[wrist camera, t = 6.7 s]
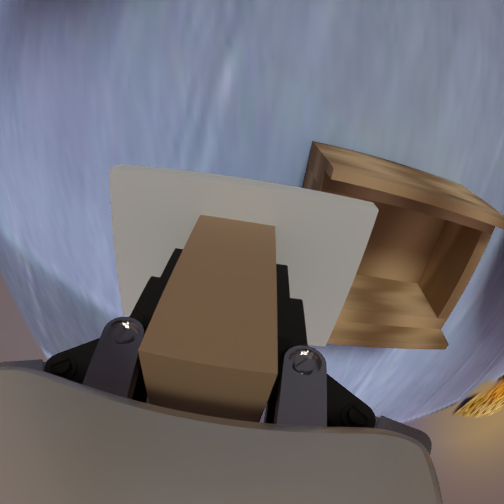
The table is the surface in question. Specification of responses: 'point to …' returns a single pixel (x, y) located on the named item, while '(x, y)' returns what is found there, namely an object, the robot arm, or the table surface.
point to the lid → (228, 278)
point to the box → (404, 248)
